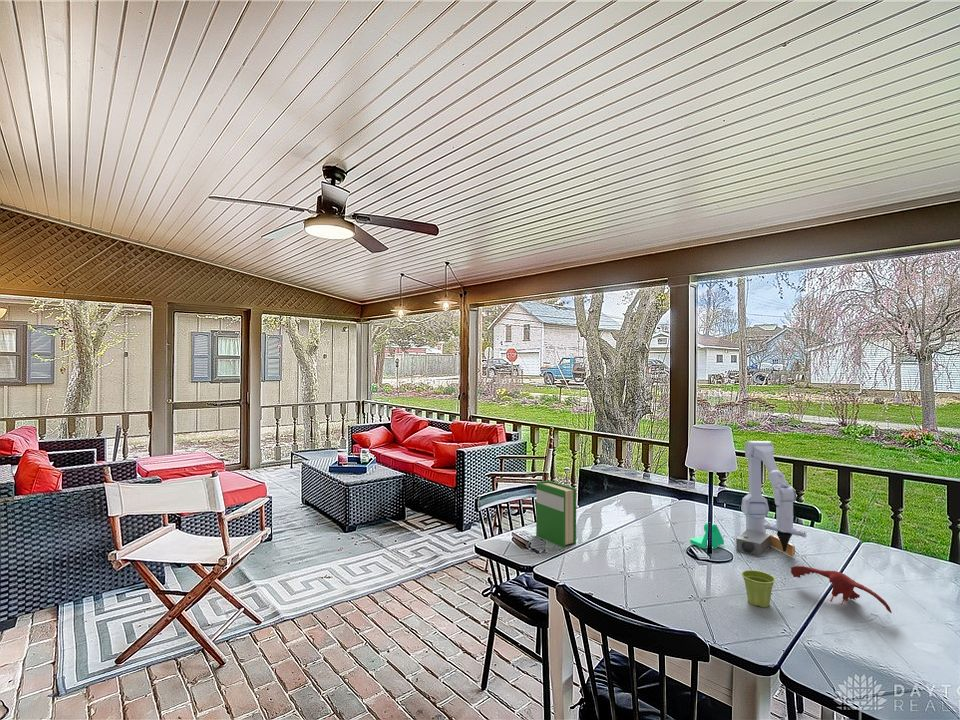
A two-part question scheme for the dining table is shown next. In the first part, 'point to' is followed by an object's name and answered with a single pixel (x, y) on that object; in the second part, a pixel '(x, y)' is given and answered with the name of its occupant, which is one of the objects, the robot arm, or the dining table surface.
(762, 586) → the plant pot
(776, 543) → the tan piece
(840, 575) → the red toy dinosaur
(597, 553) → the dining table surface
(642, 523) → the dining table surface
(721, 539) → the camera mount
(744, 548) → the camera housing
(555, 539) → the hardback book
